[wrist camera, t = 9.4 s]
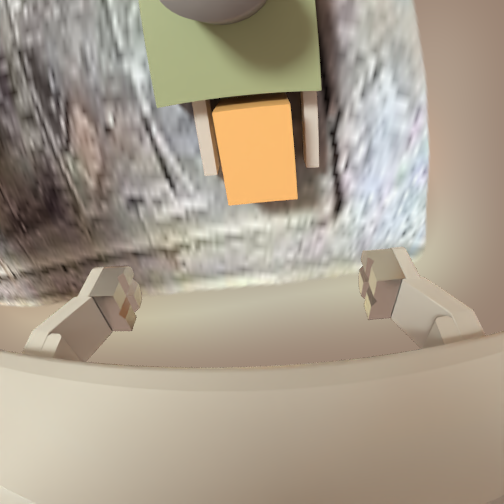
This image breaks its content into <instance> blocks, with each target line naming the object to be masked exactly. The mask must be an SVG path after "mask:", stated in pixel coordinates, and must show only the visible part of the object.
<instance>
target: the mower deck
mask: <svg viewBox="0 0 504 504" xmlns="http://www.w3.org/2000/svg"><path fill="white" fill-rule="evenodd" d="M139 7H140V14H141V20H142V27H143V33H144V39H145V45H146V51H147V57H148V63H149V68H150V74H151V79H152V85H153V90H154V95H155V100H156V105H157V108H159V107H164V106H170V105H176V104H181V103H188V102H192V107H193V112H194V118H195V124H196V130H197V135H198V141H199V147H200V152H201V158H202V163H203V169H204V174H205V176H209V175H217V174H218V170H219V167H220V161H219V155H218V149H217V143H216V136H215V130H214V123H213V117H212V110H211V104H210V99H215V98H223V97H231V96H241V95H251V94H262V93H276V92H294V91H300V98H301V115H302V134H303V158H304V162H305V165H306V168H313V167H319V136H318V106H317V91H321V72H320V56H319V41H318V29H317V17H316V7H315V0H139Z"/></svg>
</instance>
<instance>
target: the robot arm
mask: <svg viewBox="0 0 504 504" xmlns="http://www.w3.org/2000/svg"><path fill="white" fill-rule="evenodd" d="M361 262H362V265H363V266H362V267H361V268H360V269H359V276H358V281H359V290H360V294H361V296H362V297H363V298H364V299H365V303H364V307H365V311H366V314H367V317H368V320H372V319H383V318H391V319H392V320H393V321H394V322H395V323H396V324H397V325H398V326H399V327H400V328H401V329H402V330H403V331H404V332H405V333H406V334H407V335H408V336H409V337H410V338H411V339H412V340H413V341H414V342H415V343H416V344H417V345H418V346H419V347H420V348H421V349H418V350H412V351H406V352H401V353H395V354H387V355H380V356H373V357H367V358H358V359H349V360H340V361H330V362H320V363H309V364H297V365H280V366H262V367H261V366H260V367H228V368H183V367H149V366H132V365H117V364H103V363H92V362H86V361H87V360H88V359H89V358H90V357H91V355H92V354H93V353H94V352H95V351H96V350H97V349H98V348H99V346H100V345H101V344H102V343H103V342H104V341H105V340H106V338H108V336H109V335H110V334H111V333H112V331H132V329H133V326H134V323H135V320H136V315H135V313H134V312H135V311H137V310H138V309H139V308H140V305H141V299H142V293H141V289H140V286H139V284H138V283H137V282H136V281H135V280H134V279H133V277H134V272H133V270H132V268H131V267H130V266H110V267H95V268H93V269H92V270H91V272H90V274H89V276H88V278H87V279H86V281H85V283H84V285H83V287H82V289H81V291H80V293H79V295H78V297H74V298H72V299H71V300H70V301H69V302H67V303H66V304H65V305H64V306H62V307H61V308H60V309H58V310H57V311H56V312H55V313H53V314H52V315H51V316H50V317H49V318H47V319H46V320H45V321H44V322H42V323H41V324H40V325H39V326H38V327H36V328H35V329H34V330H33V331H32V333H31V335H30V337H29V339H28V341H27V343H26V345H25V347H24V350H23V352H22V353H16V352H10V351H5V350H0V504H504V331H501V332H497V333H493V334H489V335H485V333H484V331H483V329H482V327H481V325H480V323H479V321H478V319H477V317H476V315H475V313H474V311H473V310H472V309H471V308H469V307H468V306H466V305H465V304H463V303H462V302H461V301H459V300H458V299H456V298H455V297H453V296H452V295H450V294H449V293H448V292H446V291H444V290H443V289H442V288H440V287H438V286H437V285H436V284H434V283H433V282H431V281H430V280H428V279H427V278H425V277H420V275H419V273H418V271H417V270H416V268H415V266H414V264H413V262H412V260H411V258H410V256H409V254H408V253H407V251H406V249H405V248H404V247H394V248H388V249H375V250H363V252H362V254H361Z"/></svg>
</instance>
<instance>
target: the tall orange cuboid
mask: <svg viewBox="0 0 504 504" xmlns="http://www.w3.org/2000/svg"><path fill="white" fill-rule="evenodd" d="M212 116H213V122H214V127H215V133H216V138H217V144H218V149H219V155H220V160H221V166H222V171H223V177H224V182H225V188H226V193H227V198H228V204H229V205H238V204H248V203H259V202H270V201H281V200H293V199H298V197H297V181H296V167H295V153H294V141H293V129H292V117H291V106H290V102H289V100H288V98H287V95H286V93H285V92H276V93H265V94H255V95H247V96H238V97H231V98H224V99H220V101H219V102H218V104H217V106H216V107H215V109H214V110H213V112H212Z"/></svg>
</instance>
